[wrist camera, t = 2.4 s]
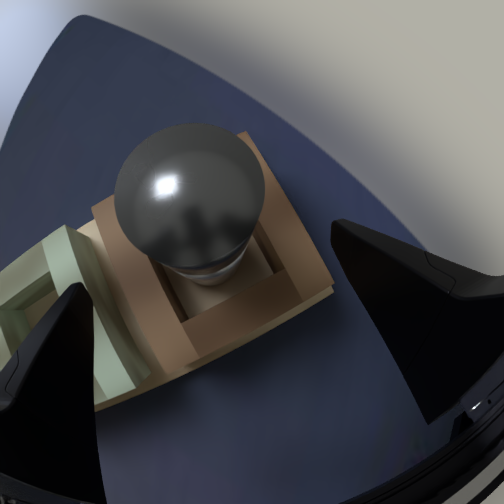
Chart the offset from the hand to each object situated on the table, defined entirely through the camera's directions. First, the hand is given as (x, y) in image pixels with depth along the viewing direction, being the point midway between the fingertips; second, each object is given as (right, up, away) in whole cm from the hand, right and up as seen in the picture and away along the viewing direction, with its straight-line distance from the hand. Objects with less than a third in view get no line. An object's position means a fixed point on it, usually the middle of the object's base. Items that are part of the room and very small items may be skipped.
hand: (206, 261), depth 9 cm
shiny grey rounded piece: (-1, 0, +9) cm, 9 cm away
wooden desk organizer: (-7, -3, +9) cm, 11 cm away
